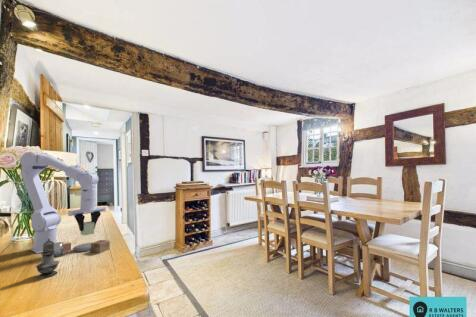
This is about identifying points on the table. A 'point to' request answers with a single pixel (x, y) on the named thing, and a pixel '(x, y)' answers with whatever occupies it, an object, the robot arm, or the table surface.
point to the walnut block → (100, 246)
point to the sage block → (88, 228)
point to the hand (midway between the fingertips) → (87, 229)
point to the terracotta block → (66, 246)
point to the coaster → (82, 247)
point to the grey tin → (58, 249)
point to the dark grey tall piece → (47, 261)
